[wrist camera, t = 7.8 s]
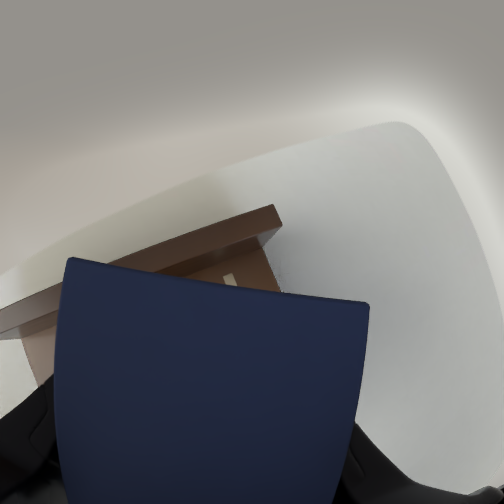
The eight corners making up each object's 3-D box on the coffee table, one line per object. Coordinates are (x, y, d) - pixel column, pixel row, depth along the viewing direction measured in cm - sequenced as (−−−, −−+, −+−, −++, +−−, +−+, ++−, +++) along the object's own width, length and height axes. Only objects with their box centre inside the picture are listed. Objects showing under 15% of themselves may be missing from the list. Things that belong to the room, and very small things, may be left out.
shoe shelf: (324, 413, 17) (368, 441, 12) (107, 486, 13) (86, 529, 7) (250, 236, 19) (273, 203, 13) (26, 322, 15) (-24, 320, 9)
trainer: (231, 488, 11) (276, 621, 1) (144, 477, 10) (110, 609, 1) (254, 313, 14) (376, 302, 4) (157, 298, 13) (60, 253, 3)
